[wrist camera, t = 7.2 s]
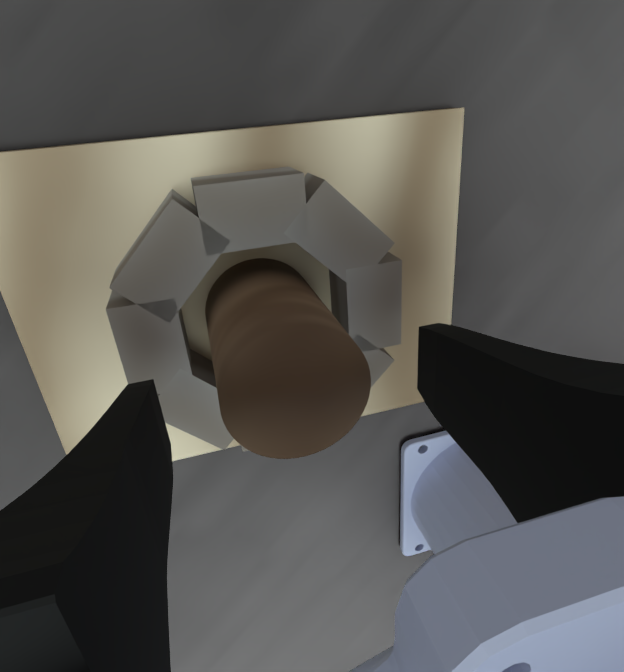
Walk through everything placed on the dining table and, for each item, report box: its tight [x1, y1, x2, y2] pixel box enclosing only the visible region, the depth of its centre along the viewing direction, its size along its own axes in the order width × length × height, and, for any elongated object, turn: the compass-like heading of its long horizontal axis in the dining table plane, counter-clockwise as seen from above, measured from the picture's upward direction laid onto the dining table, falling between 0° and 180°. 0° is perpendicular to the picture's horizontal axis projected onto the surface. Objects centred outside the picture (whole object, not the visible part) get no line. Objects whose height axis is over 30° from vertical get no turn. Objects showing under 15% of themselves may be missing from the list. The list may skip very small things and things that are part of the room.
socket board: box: [0, 108, 464, 461], centre depth 17 cm, size 16×12×3 cm
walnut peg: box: [205, 258, 371, 459], centre depth 15 cm, size 4×4×6 cm
